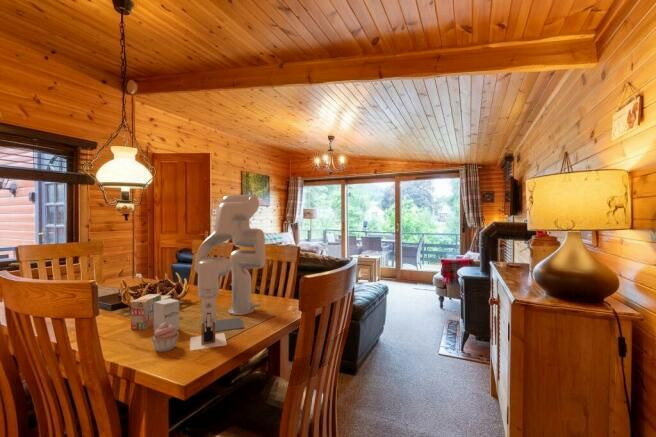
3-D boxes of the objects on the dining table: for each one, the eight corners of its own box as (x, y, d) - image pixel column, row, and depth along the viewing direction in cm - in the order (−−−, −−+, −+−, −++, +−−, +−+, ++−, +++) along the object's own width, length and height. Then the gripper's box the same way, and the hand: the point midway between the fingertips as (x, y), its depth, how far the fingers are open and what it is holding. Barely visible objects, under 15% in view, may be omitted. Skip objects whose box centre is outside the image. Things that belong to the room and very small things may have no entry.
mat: (240, 318, 151) (240, 317, 151) (244, 328, 138) (244, 327, 138) (208, 322, 145) (208, 321, 145) (210, 333, 132) (210, 331, 132)
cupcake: (175, 353, 113) (175, 325, 113) (147, 355, 112) (147, 327, 111) (182, 342, 123) (182, 317, 122) (155, 344, 121) (155, 318, 120)
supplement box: (163, 335, 130) (163, 304, 130) (153, 331, 134) (153, 301, 134) (179, 329, 136) (179, 300, 136) (169, 326, 140) (169, 297, 140)
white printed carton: (160, 313, 158) (160, 289, 157) (172, 314, 157) (172, 289, 157) (130, 329, 136) (130, 301, 136) (144, 329, 136) (144, 301, 136)
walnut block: (214, 337, 127) (214, 317, 127) (215, 342, 122) (215, 321, 122) (201, 339, 125) (201, 319, 125) (201, 344, 120) (201, 323, 120)
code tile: (224, 333, 132) (224, 332, 132) (227, 345, 120) (227, 344, 120) (190, 337, 127) (190, 337, 127) (189, 350, 115) (189, 350, 115)
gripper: (219, 296, 117) (219, 345, 117) (217, 286, 133) (217, 329, 133) (197, 298, 114) (197, 348, 114) (197, 288, 130) (197, 332, 130)
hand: (208, 337), depth 124 cm, fingers closed on walnut block, 5 cm apart
